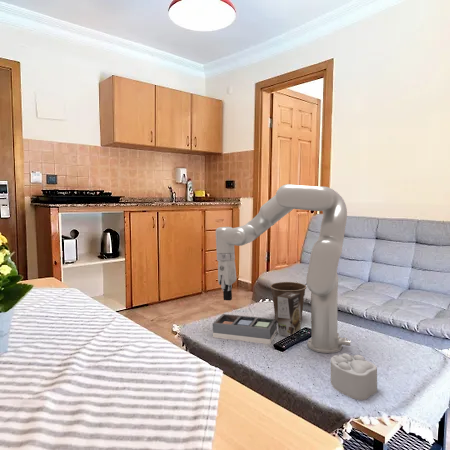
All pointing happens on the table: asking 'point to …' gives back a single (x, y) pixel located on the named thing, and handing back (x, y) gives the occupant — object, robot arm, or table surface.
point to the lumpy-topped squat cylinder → (353, 376)
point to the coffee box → (289, 313)
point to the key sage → (262, 324)
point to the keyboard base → (245, 338)
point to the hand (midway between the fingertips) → (227, 299)
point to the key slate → (244, 323)
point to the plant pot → (283, 288)
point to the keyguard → (244, 330)
